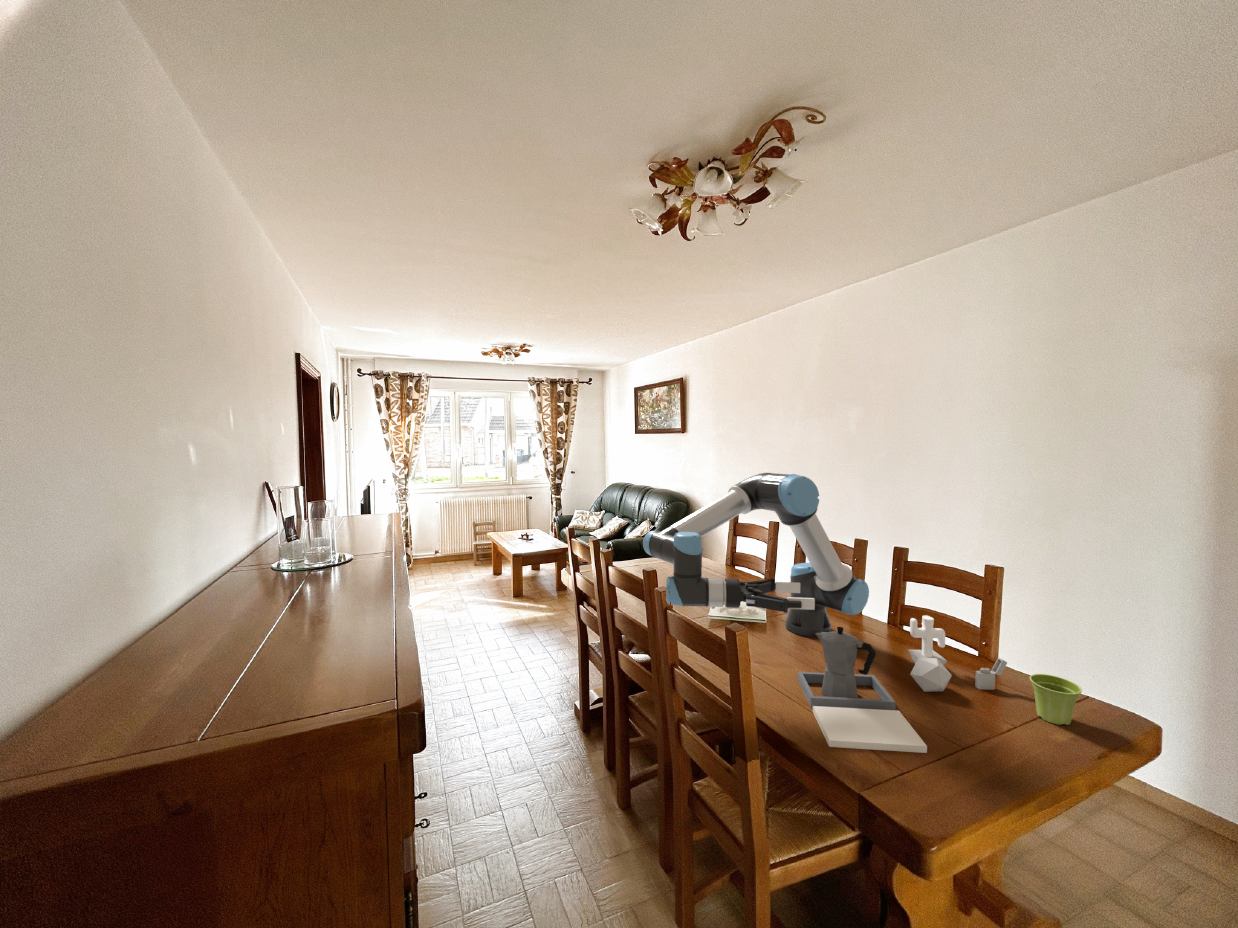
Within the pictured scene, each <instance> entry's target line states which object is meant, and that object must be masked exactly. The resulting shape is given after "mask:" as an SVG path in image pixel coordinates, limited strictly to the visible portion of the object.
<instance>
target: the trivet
mask: <svg viewBox="0 0 1238 928" xmlns="http://www.w3.org/2000/svg"><path fill="white" fill-rule="evenodd" d="M812 713H813V715H814V718H815V719H816V722H817V725H818V726H819V728H820V730H821V732H822V734H823V736H824V739H825V741H826V743H827V745H828V747H830V748H842V749H843V748H844V749H860V750H875V751H886V752H887V751H889V752H891V751H892V752H904V753H905V752H906V753H921V754H927V753H928V746H927V744H926V743H925V742H924V740H923V739H922V738H921V736H920V735H919V734H918V733H917V731H916V730H915V729H914V727H912V725H911V724H910V722H909V721H908V720H907V719H906V718H905V716H904V715H903V713H902V712H901V711H900V710H897V709H895V710H878V709H859V708H841V707H822V706H813V708H812Z"/></svg>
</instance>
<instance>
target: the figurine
mask: <svg viewBox="0 0 1238 928" xmlns="http://www.w3.org/2000/svg"><path fill="white" fill-rule="evenodd" d="M921 618H922V619H921V625H922V626H921V627H918V620H917V619H916V618H914V617H911V618H910V621H909V633H910V636H911V637H913V638H914V639H916V638H917V639H921V649H908V653H909V654H910V657H911V658H912V660H913V662H914V665H915V664H916V662H917V660H918V659H922V658H937V659H938V660H939V661H940V662H941V664H942V665H943V666H944V665H945V664H946V663H947V662H948V660H947V659H945V658H944V657H943V656H942V655H940V654H939V653H938V652H936V651H935V650H934V646H933V645H934V639H937V646H938V647H939V648H941V649H942V648H944V649H945V647H946V632H945V630H944V629H943V628H938V627H937V628H936V627H935V628H934V623H935V622H934V621H935V619H934V617H932V616H930V615H928V614H927V615H926V614H925V615H922V617H921Z"/></svg>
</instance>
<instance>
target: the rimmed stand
mask: <svg viewBox="0 0 1238 928" xmlns="http://www.w3.org/2000/svg"><path fill="white" fill-rule="evenodd" d="M824 674H825V672H811V671H798V672H797V682H798V683H799V686H800V688H801V690H802V692H803V694H804V696H805V698H806V701H807V703H808V705H809V707H810V708H812V709H813V706H822V707H841V708H859V709H878V710H896V703H897V702H896V701H895V700H894V698H893V697H892V695H890V693H889V692H888V691H887V690H886V688H885V687H884V686H883V685H882V684H881V682H880V681H879V680H878V678H877V677H876V676H875V674H867V675H864V674H859V673H858V674H856V673H854V675H855V681H856V686H870V687H872V689H873V690H874V692H875V693H876V694H877V696H878V697H879V698H876V699H875V698H863V697H861V698H859V697H858V698H843V697H826V696H825V695H823V696H820V695H819V696H818V695H814V693H813V691H812V688H811V687H810V685H809V683H810V684H823V680H824Z"/></svg>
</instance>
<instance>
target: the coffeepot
mask: <svg viewBox="0 0 1238 928" xmlns="http://www.w3.org/2000/svg"><path fill="white" fill-rule="evenodd" d="M836 630H837V631H835V630H831V632H817V633H815V634H816V635H817V636H818V637H817V638H818V640H819V641H820V644H821V645H822V649H823V656H824V657H823V658H824V663H825V669H824V673H825V674H824V680H823V683H822V687H821V694H822V695H823V696H824V697H843V698H859V697H858V688H857V685H856V681H855V675H854V674H855V670H854V668H855V665H856V660H857V654H858V650H860V651H861V650H862V651H866V652H867V653H868V654H867V656H866V659H865V660H866V661H865V663H864V664H863V669H861V668H858V674H860V675H869V672H870V670H871V667H872V665H873V663H874V660H875V657H876V655H877V654H876V650H875V648H873V646H872V644H870V643H867V642H864V641H861V640H859V638H858V637H856V636H854V635H852V634H850V633H849V632H844V627H843V626H837V627H836Z"/></svg>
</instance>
